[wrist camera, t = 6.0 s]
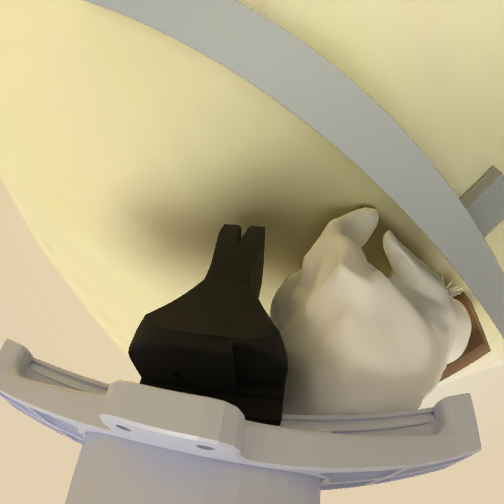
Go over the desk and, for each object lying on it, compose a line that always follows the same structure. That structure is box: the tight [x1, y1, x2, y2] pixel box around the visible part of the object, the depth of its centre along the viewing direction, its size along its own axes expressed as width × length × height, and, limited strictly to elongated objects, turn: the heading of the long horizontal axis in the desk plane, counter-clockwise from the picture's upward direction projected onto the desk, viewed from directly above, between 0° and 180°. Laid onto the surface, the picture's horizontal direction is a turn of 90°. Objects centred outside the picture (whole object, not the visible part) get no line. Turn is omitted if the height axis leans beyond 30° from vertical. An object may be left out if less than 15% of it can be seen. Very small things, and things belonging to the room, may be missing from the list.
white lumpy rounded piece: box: [270, 207, 471, 415], centre depth 11 cm, size 6×8×12 cm
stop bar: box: [439, 292, 491, 382], centre depth 16 cm, size 2×10×4 cm, turn 145°
